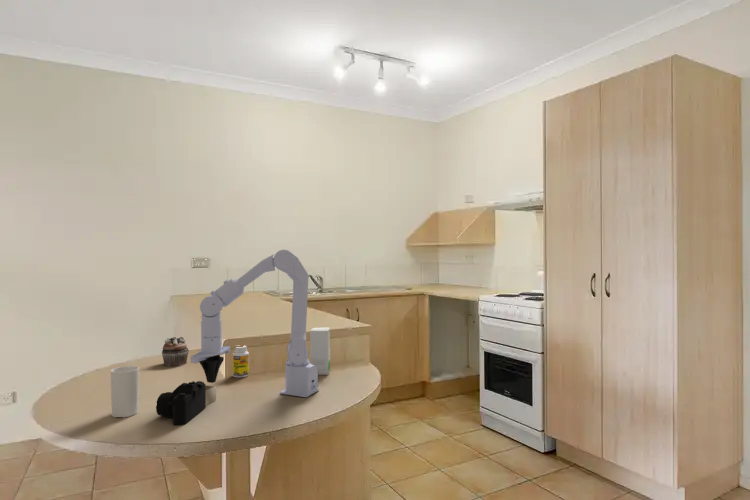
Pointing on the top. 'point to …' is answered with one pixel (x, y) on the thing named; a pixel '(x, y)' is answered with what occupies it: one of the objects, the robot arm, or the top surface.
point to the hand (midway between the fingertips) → (211, 382)
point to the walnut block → (210, 394)
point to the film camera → (183, 402)
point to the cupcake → (175, 352)
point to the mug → (124, 391)
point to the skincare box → (320, 349)
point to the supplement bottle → (240, 362)
